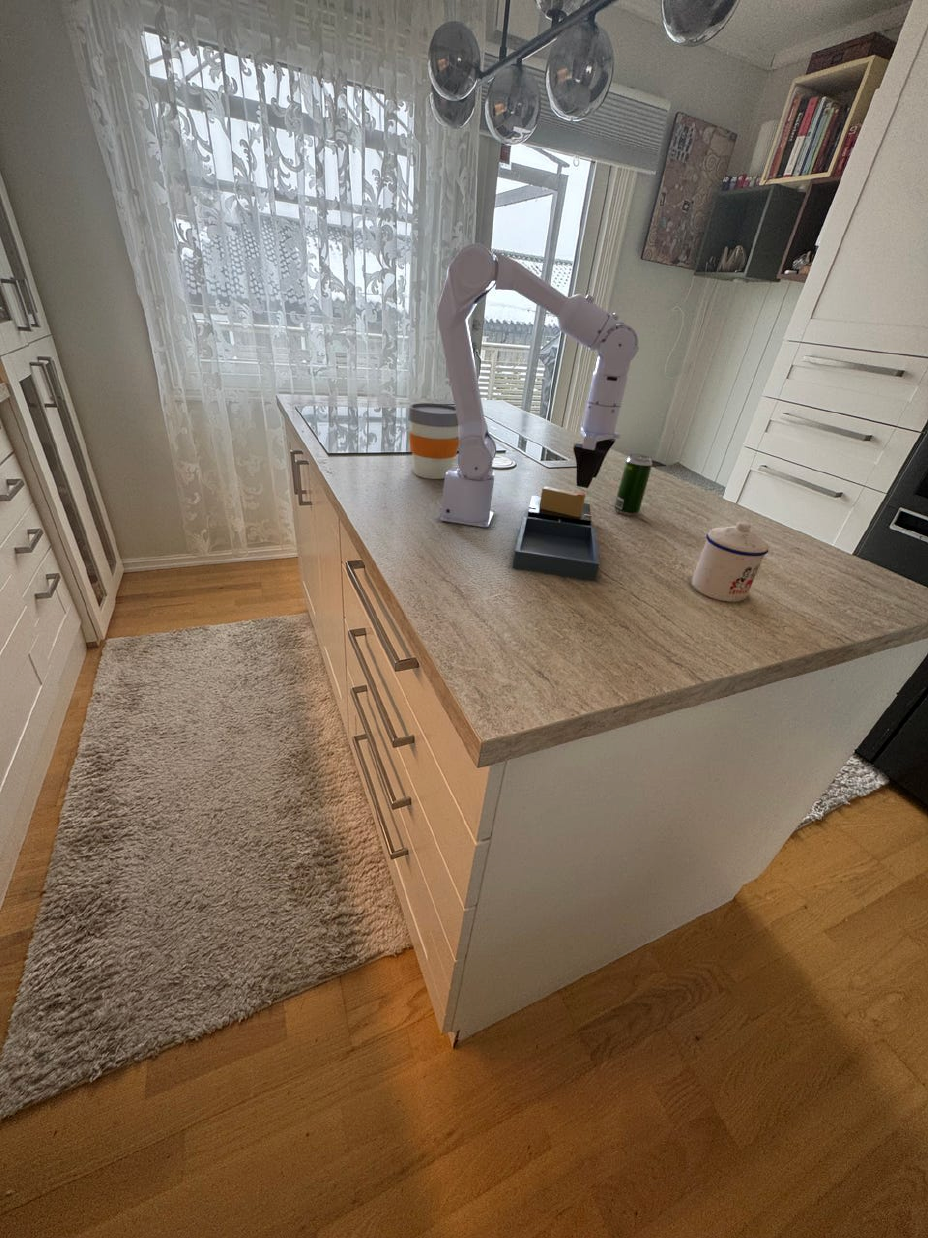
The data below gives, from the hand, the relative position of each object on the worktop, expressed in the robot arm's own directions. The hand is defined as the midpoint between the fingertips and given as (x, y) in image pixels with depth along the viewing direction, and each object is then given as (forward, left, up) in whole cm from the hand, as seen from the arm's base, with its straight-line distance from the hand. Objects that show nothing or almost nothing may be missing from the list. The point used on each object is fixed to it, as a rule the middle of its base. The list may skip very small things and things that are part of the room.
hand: (586, 481), depth 96 cm
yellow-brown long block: (-4, +1, -7) cm, 8 cm away
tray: (-4, -12, -10) cm, 16 cm away
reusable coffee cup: (-35, +25, -10) cm, 44 cm away
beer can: (+11, +17, -10) cm, 23 cm away
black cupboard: (-4, +1, -10) cm, 11 cm away
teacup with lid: (+24, -15, -10) cm, 30 cm away
